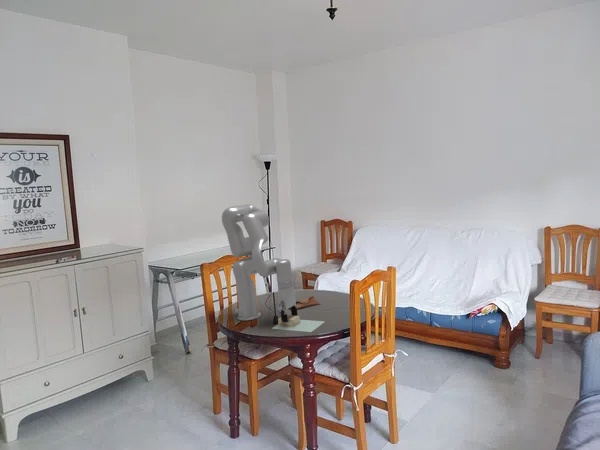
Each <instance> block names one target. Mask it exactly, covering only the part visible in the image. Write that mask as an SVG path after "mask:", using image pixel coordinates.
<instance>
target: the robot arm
mask: <svg viewBox="0 0 600 450" xmlns="http://www.w3.org/2000/svg"><path fill="white" fill-rule="evenodd" d="M221 222H222V226H223V228H224V230H225V233H226V235H227V241H228V244H229V247H230V251H231V254H232V256H233V257H235V258H241V257H245V256H248V257H245V258H241V259H238V260H237V261H235V262H234V263H233V264H232V272H233V276H234V280H235V284H236V291H237V300H238V307H239V308H238V307H237V308H235V310H234V314H238V315H237V320H238V321H251V320H255V319H256V320H257V319H259V318H260V317H261V316H262V313H261V312H260V311H258V302H257V295H256V285H255V282H254V280H253V279H252V277H251V276H252V275H256V274H258V275H259V276H260V277H263V278H264V277H268V276H273V275H276V282H277V288H278V289H277V303H278V305H277V310H278V313H279V314H280V317H281V320H282V322H288V318H287V315H288V314H287V312H288V310H290V309H289V308H291V307H292V308H291V310H290V312H291V314H290V315H291V316H299V315H298V310H297V300H298V296H296V292H295V287H294V280H293V274H292V273H293V272H292V271H293V270H292V265H291V264H292V263H291V260H290V259H287V258H286V259H283V258H277V257H275V258H271V259H267V260H264V258H263V256H262V248H263V245H265V244H266V243H267V242H268V241H269V235H267V232H266V230H265V227H267V226H268V225H269V224H270V218H269V215H268V214H267V212H266V211H264V210H263V209H261V208H259V207H256V206H255V205H252V204H248V203H247V204H241V205H234V206H229V207H227V208H225V209H224V210H223V212H222V214H221ZM239 222H242V223H243V226H244V229H245V231H246V232H247V233H246V234H247V235H248V236H246V237H245V235H244V231H243V228H242V227H241V226H240V225H239V224H238V223H239Z"/></svg>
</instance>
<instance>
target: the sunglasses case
mask: <svg viewBox="0 0 600 450" xmlns="http://www.w3.org/2000/svg"><path fill="white" fill-rule="evenodd" d="M320 305H321V304H320V303H319V302H318V301H317V299H316V298H315V297H314V295H313V296H310V297H306V298H301V299H297V311H299V310H303V309H306V308H311V307H315V306H320ZM291 308H292V307H291ZM291 308H289V309H288V310H290V311H291Z"/></svg>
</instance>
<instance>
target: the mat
mask: <svg viewBox="0 0 600 450" xmlns="http://www.w3.org/2000/svg"><path fill="white" fill-rule="evenodd" d="M324 323H326V322H325V321H324V320H309V319H300V323H299V324H298V325H297V326H295V327H288V326H279V325H278V324H276V325H275V326H273V327H271V329H272V330H281V331H282V330H283V331H293V332H294V331H295V332H303V333H304V332H305V333H306V332H307V333H312V332H313V331H315V330H316V329H317V328H319V327H320V326H321V325H323V324H324Z"/></svg>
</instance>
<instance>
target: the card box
mask: <svg viewBox="0 0 600 450" xmlns="http://www.w3.org/2000/svg"><path fill="white" fill-rule="evenodd" d="M287 318H288V322H282V320H281V316H280V317H279V318H277V322H278V324H277V325H279V326H288V327H295V326H297V325H298V324H299V323H300V320H301V317H300V315H297V316H292V314H287Z"/></svg>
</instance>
